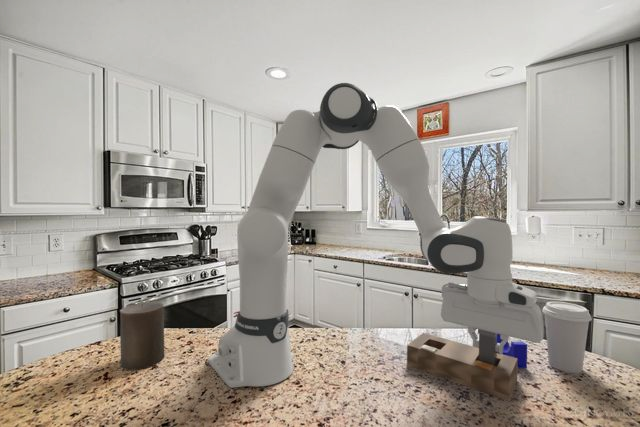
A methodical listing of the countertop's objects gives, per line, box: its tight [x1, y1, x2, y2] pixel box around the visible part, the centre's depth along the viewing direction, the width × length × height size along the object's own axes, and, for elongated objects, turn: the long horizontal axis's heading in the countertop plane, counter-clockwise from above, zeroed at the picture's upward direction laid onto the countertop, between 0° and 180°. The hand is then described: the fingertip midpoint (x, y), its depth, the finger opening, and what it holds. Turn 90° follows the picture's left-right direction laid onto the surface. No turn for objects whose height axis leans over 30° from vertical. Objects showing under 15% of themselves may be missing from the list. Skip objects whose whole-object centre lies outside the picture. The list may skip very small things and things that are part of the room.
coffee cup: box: [541, 301, 593, 374], centre depth 76 cm, size 10×10×15 cm
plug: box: [477, 329, 497, 367], centre depth 70 cm, size 3×3×9 cm
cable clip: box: [497, 334, 528, 369], centre depth 82 cm, size 12×4×6 cm, turn 174°
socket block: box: [406, 332, 519, 402], centre depth 73 cm, size 22×10×5 cm, turn 50°
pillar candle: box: [119, 301, 165, 371], centre depth 78 cm, size 10×10×15 cm
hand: (487, 349), depth 69 cm, fingers closed on plug, 3 cm apart
